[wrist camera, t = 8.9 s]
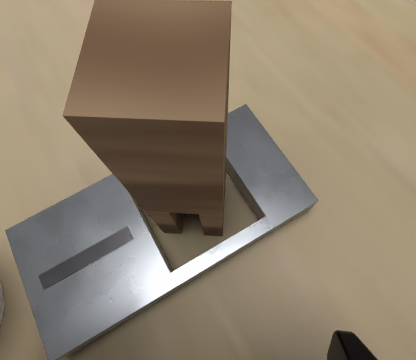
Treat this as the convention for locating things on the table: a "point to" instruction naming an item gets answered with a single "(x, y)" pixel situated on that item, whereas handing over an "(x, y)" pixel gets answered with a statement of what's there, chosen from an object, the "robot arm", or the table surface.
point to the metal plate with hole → (138, 243)
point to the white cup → (1, 303)
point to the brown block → (158, 103)
